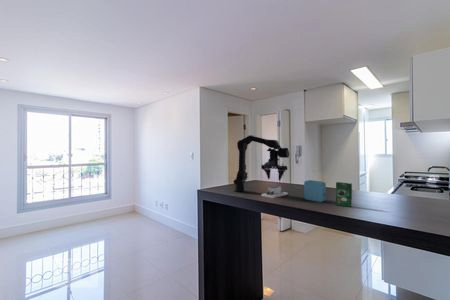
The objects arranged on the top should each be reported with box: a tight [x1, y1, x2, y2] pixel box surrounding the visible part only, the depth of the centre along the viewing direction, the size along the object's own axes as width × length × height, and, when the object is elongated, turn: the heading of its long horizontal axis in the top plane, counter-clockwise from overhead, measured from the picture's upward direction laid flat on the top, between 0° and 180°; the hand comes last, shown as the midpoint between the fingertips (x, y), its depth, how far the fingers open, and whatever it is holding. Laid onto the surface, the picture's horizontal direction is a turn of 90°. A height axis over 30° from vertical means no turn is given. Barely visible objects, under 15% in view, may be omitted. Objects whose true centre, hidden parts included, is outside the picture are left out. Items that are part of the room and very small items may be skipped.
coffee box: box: [335, 181, 353, 208], centre depth 126 cm, size 8×3×13 cm, turn 54°
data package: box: [303, 179, 327, 203], centre depth 141 cm, size 12×4×12 cm, turn 42°
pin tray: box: [261, 188, 289, 199], centre depth 158 cm, size 10×17×3 cm, turn 131°
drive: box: [267, 185, 282, 195], centre depth 158 cm, size 5×10×5 cm, turn 141°
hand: (274, 179), depth 158 cm, fingers open, 9 cm apart
